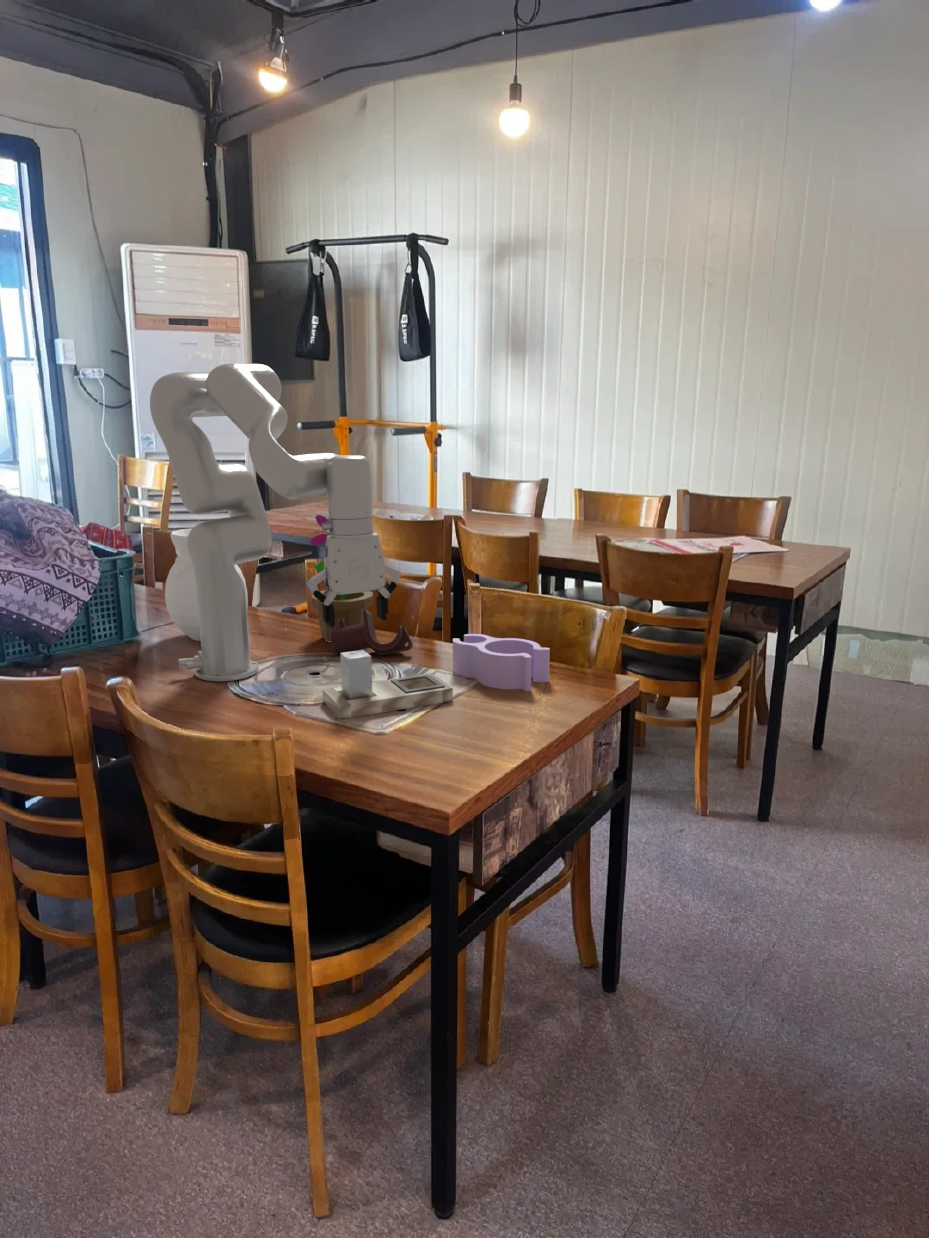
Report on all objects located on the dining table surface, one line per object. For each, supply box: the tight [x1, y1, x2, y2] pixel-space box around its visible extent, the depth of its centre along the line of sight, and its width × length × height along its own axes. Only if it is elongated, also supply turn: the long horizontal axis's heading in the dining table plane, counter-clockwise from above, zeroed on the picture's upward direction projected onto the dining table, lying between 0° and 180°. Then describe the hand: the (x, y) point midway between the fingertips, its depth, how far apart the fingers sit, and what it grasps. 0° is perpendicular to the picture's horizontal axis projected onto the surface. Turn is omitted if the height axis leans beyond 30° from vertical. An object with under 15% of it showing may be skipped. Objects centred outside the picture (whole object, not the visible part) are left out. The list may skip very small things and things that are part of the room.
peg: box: [339, 649, 373, 701], centre depth 167 cm, size 4×4×10 cm
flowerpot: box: [309, 514, 374, 641], centre depth 210 cm, size 14×14×30 cm
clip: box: [452, 633, 551, 692], centre depth 184 cm, size 20×12×7 cm, turn 52°
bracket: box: [330, 610, 414, 656], centre depth 200 cm, size 6×17×10 cm, turn 88°
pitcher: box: [164, 527, 249, 642], centre depth 212 cm, size 19×18×25 cm
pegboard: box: [322, 672, 454, 720], centre depth 170 cm, size 22×10×3 cm, turn 115°
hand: (356, 622), depth 164 cm, fingers open, 9 cm apart
